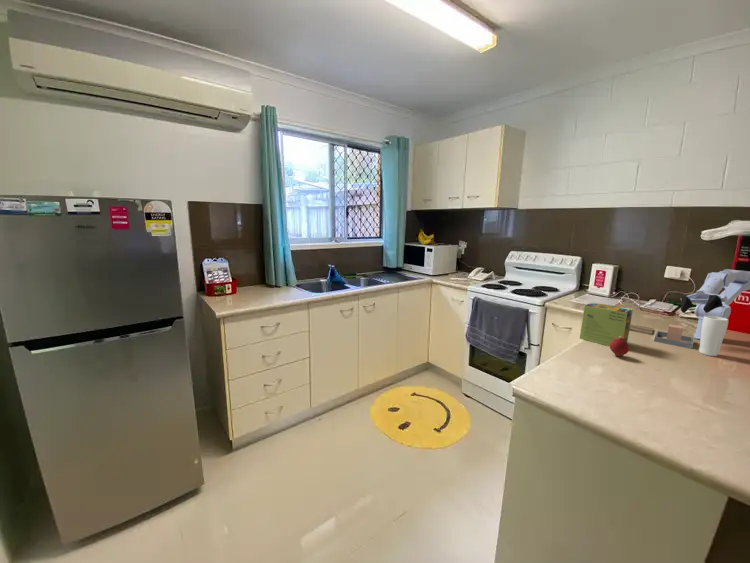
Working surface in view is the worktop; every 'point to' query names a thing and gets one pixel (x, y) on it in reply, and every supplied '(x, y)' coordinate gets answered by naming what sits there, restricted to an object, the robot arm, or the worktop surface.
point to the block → (675, 332)
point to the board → (641, 329)
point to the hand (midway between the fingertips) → (693, 310)
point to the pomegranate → (619, 346)
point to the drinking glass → (712, 334)
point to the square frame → (673, 342)
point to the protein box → (605, 323)
